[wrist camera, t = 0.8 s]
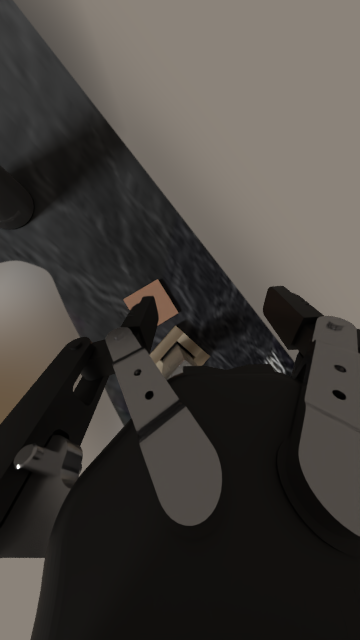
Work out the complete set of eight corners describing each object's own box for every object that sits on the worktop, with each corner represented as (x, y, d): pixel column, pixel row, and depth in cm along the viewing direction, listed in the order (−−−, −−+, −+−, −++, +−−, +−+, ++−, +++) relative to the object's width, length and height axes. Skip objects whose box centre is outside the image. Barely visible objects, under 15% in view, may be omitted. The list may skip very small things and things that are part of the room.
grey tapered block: (163, 356, 31) (161, 386, 17) (176, 342, 31) (184, 359, 17) (177, 369, 31) (187, 408, 17) (190, 354, 31) (209, 381, 17)
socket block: (146, 358, 30) (144, 361, 28) (175, 325, 31) (176, 325, 29) (178, 386, 31) (179, 391, 28) (206, 353, 32) (209, 356, 29)
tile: (124, 300, 30) (123, 299, 29) (158, 280, 31) (157, 279, 30) (145, 333, 30) (144, 333, 30) (178, 313, 31) (178, 312, 30)
